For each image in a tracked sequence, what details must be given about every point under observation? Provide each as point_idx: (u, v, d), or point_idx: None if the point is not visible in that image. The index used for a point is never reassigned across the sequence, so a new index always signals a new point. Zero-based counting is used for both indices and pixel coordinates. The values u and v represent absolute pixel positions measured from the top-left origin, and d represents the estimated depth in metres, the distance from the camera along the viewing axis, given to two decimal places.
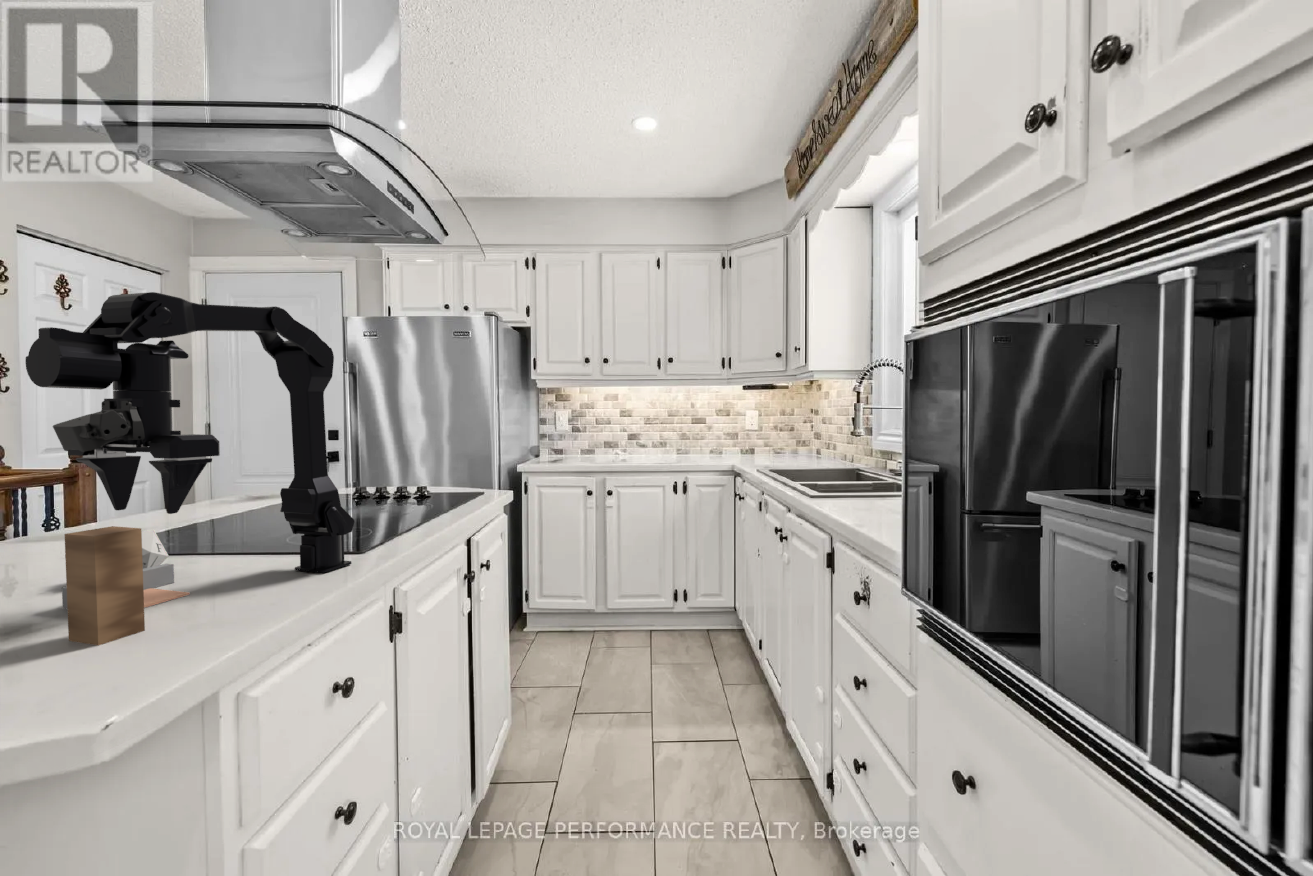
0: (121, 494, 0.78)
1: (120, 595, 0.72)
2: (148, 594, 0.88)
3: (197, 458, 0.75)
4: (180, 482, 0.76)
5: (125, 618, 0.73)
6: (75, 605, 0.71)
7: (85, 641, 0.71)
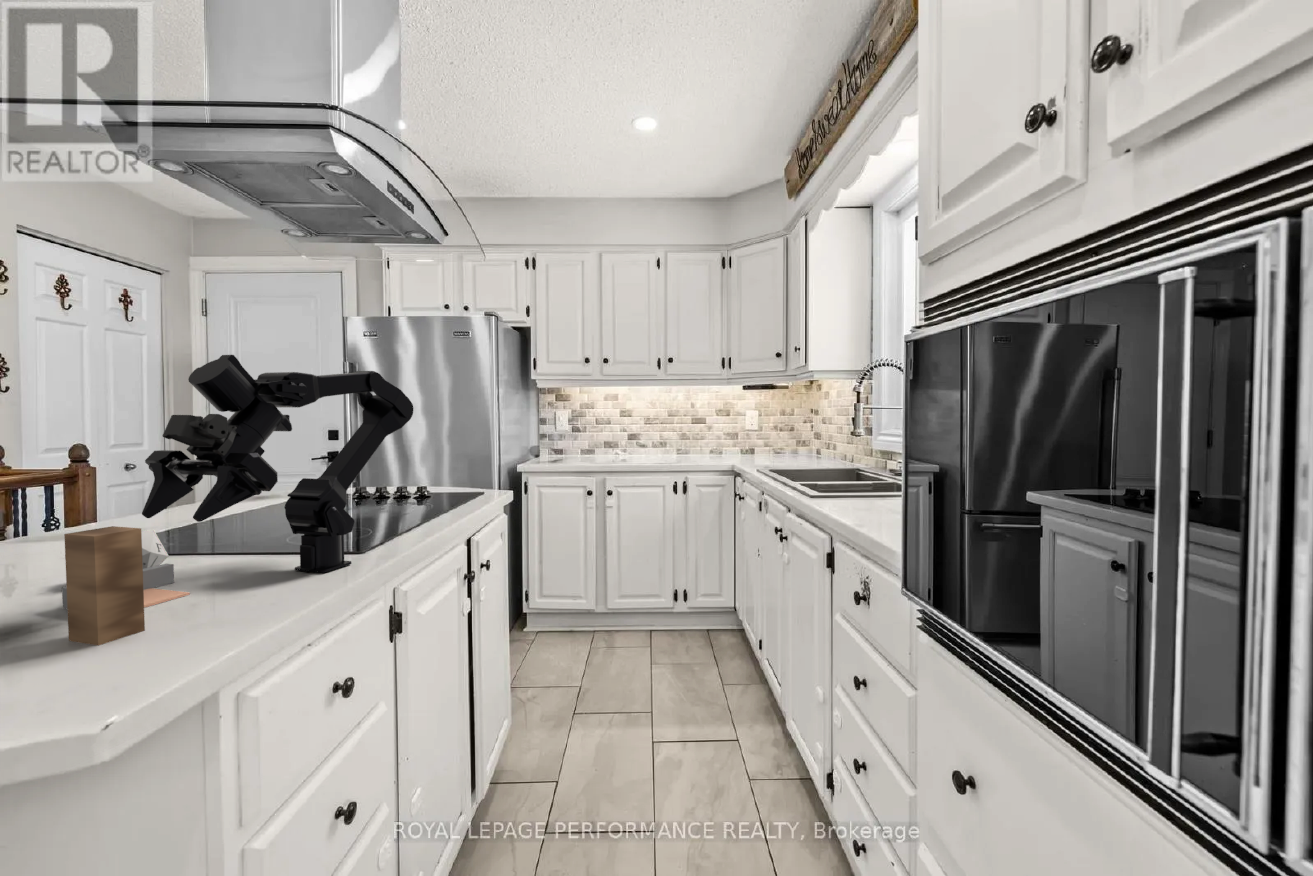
0: (157, 504, 0.82)
1: (120, 595, 0.72)
2: (148, 594, 0.88)
3: (253, 482, 0.83)
4: (224, 497, 0.81)
5: (125, 618, 0.73)
6: (75, 605, 0.71)
7: (85, 641, 0.71)
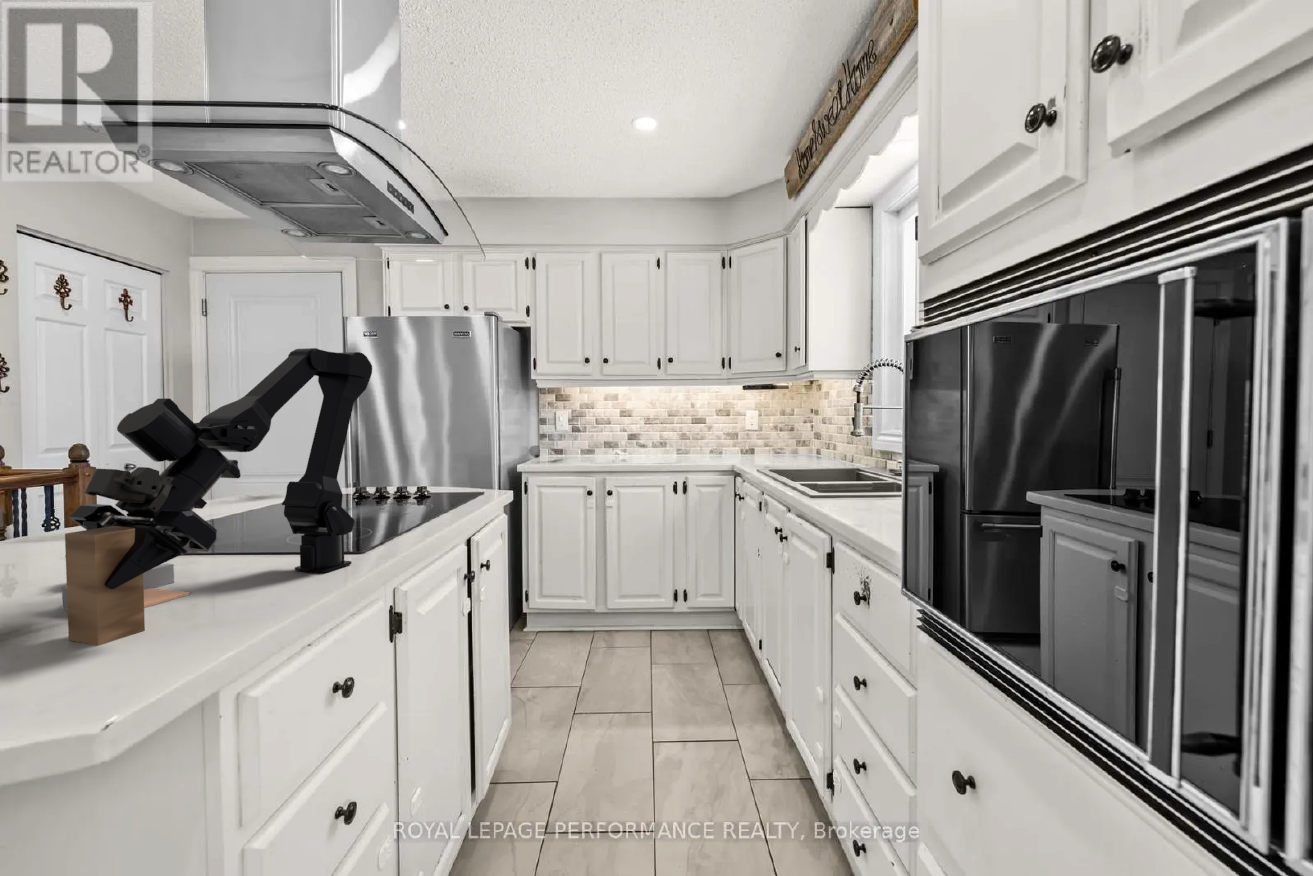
0: None
1: (121, 595, 0.72)
2: (148, 594, 0.88)
3: (177, 542, 0.75)
4: (142, 560, 0.73)
5: (125, 618, 0.73)
6: (75, 604, 0.71)
7: (85, 641, 0.71)
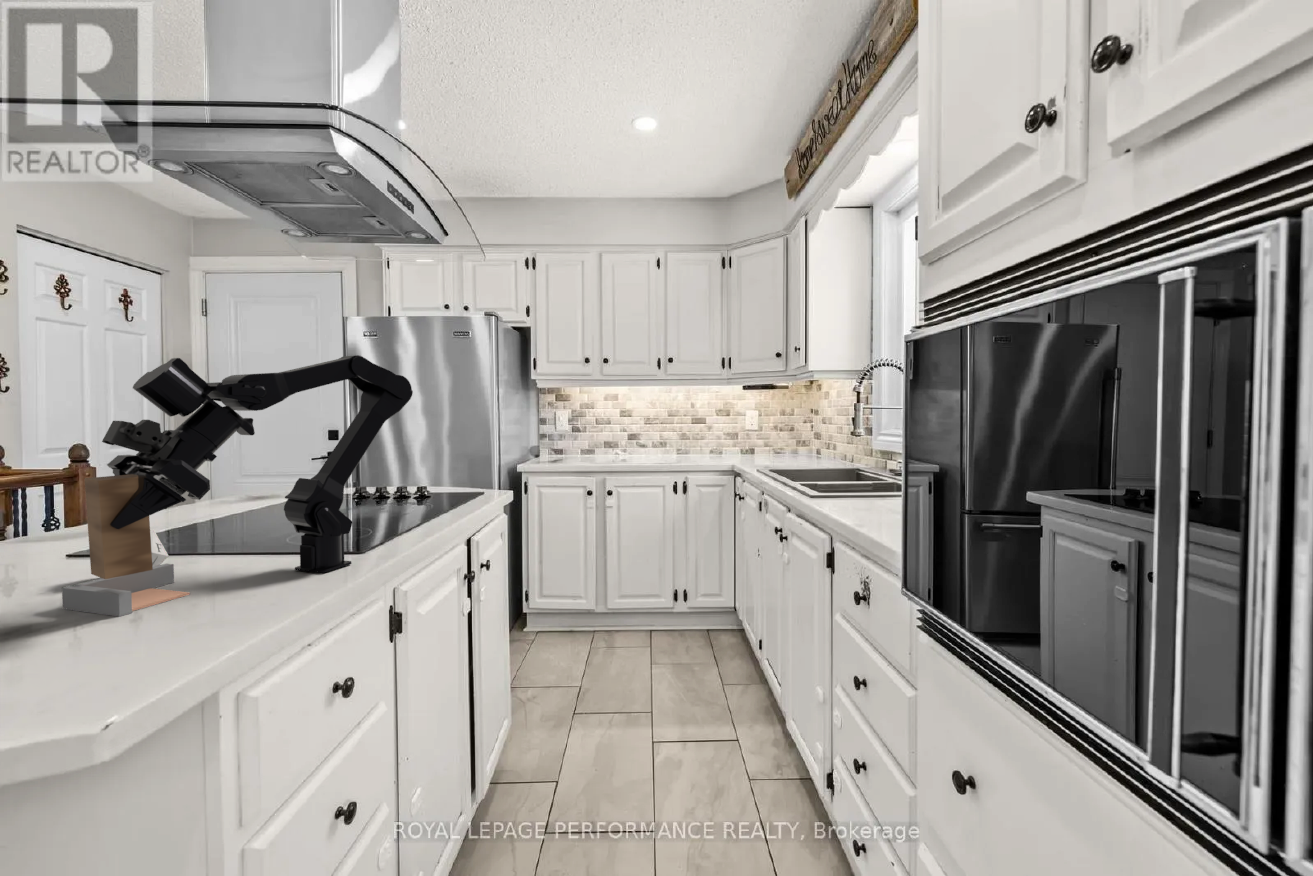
0: None
1: (127, 536, 0.79)
2: (148, 594, 0.88)
3: (174, 490, 0.81)
4: (144, 504, 0.80)
5: (131, 557, 0.80)
6: (92, 542, 0.79)
7: (98, 575, 0.78)
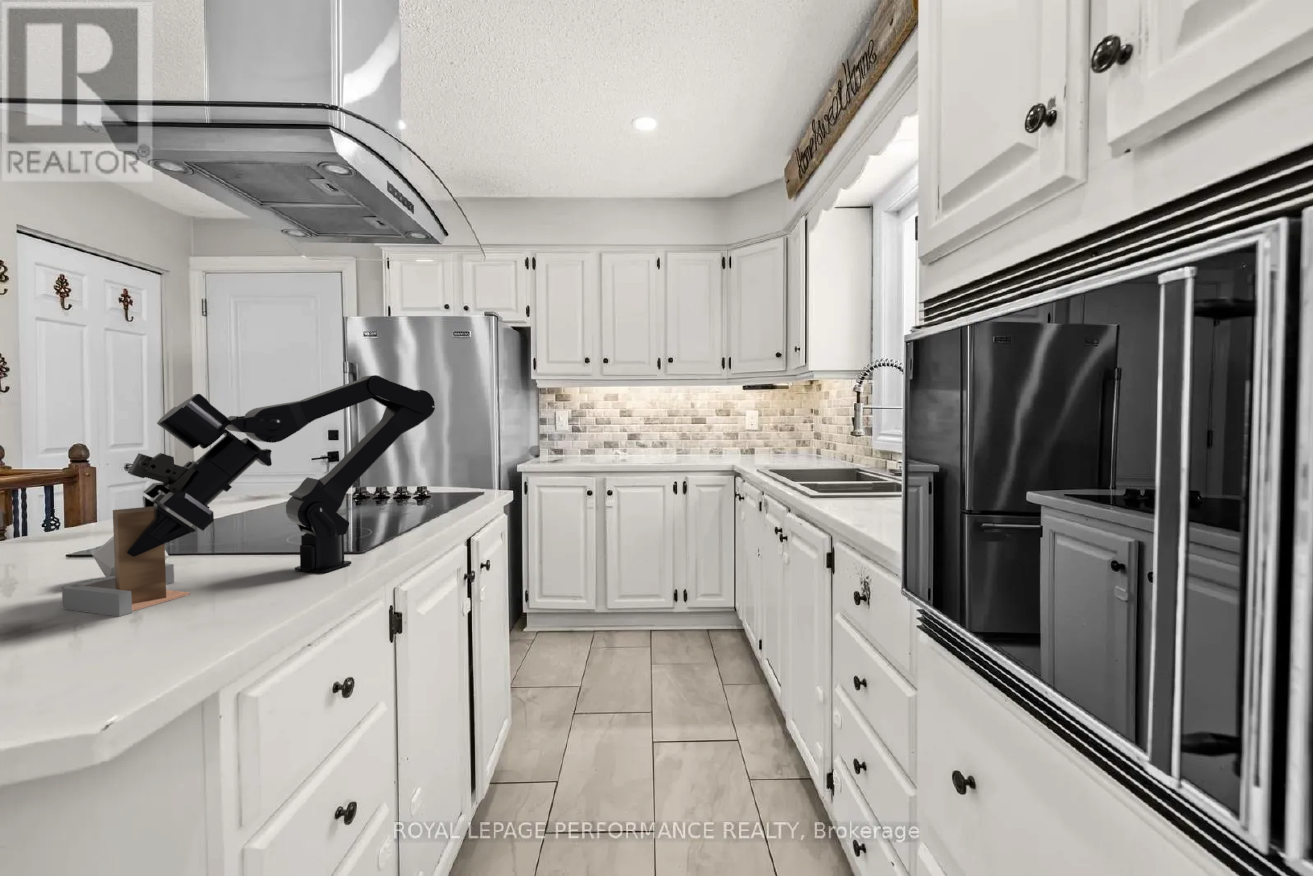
0: None
1: (142, 565, 0.85)
2: None
3: (184, 521, 0.85)
4: (158, 533, 0.84)
5: (146, 585, 0.85)
6: (116, 569, 0.85)
7: None
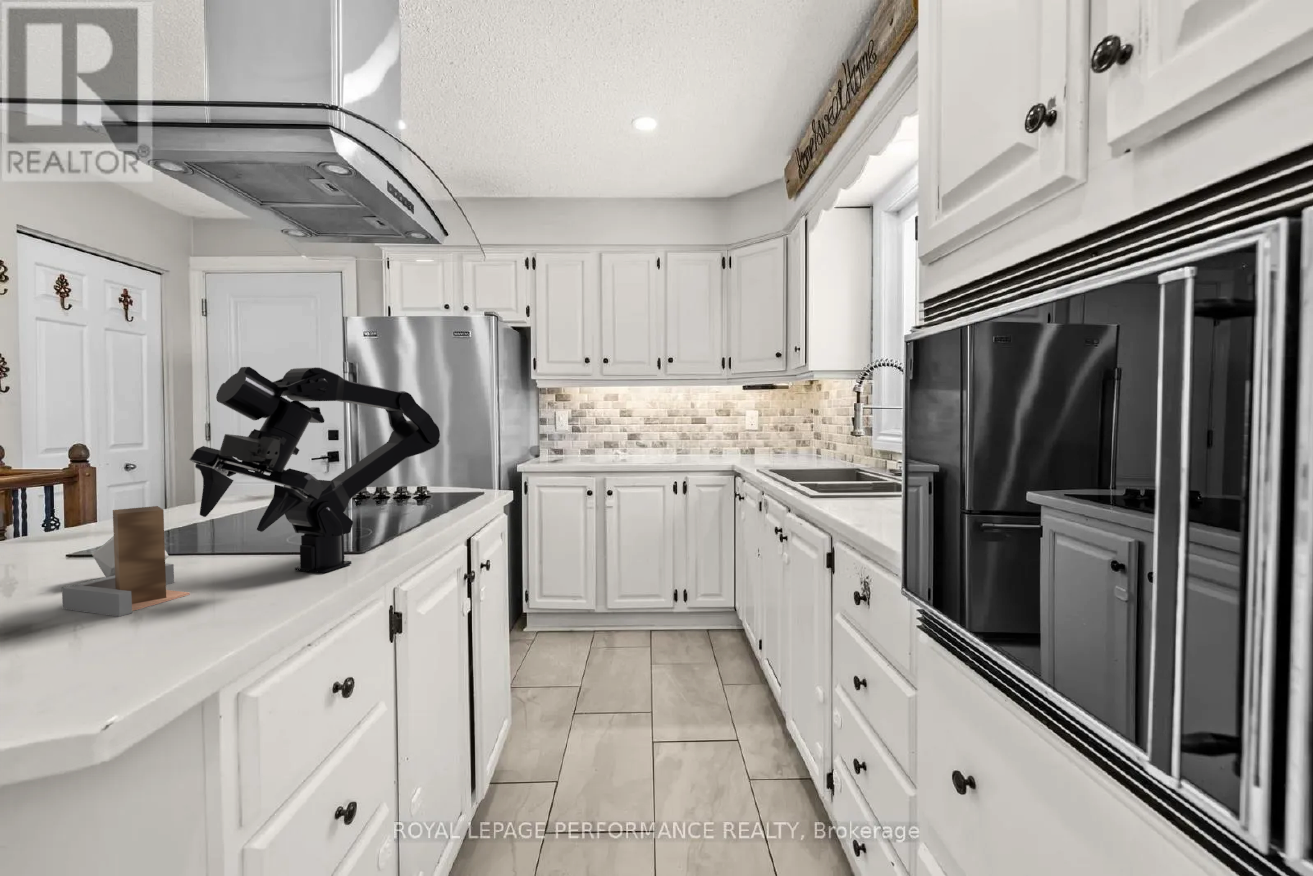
0: (210, 504, 0.92)
1: (142, 565, 0.85)
2: None
3: (304, 495, 0.95)
4: (280, 509, 0.93)
5: (146, 585, 0.85)
6: (116, 569, 0.85)
7: None
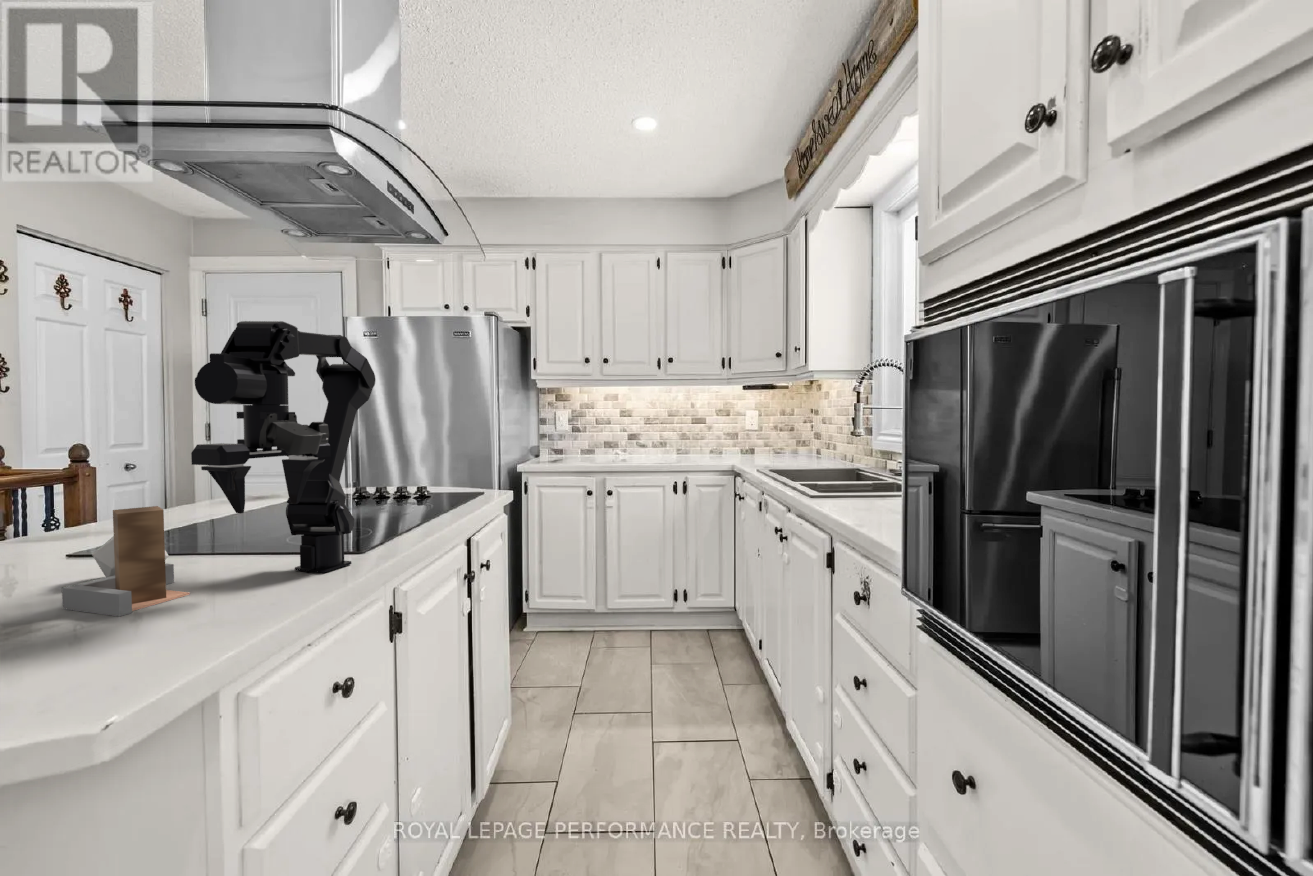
0: None
1: (142, 565, 0.85)
2: None
3: None
4: None
5: (146, 585, 0.85)
6: (116, 569, 0.85)
7: None
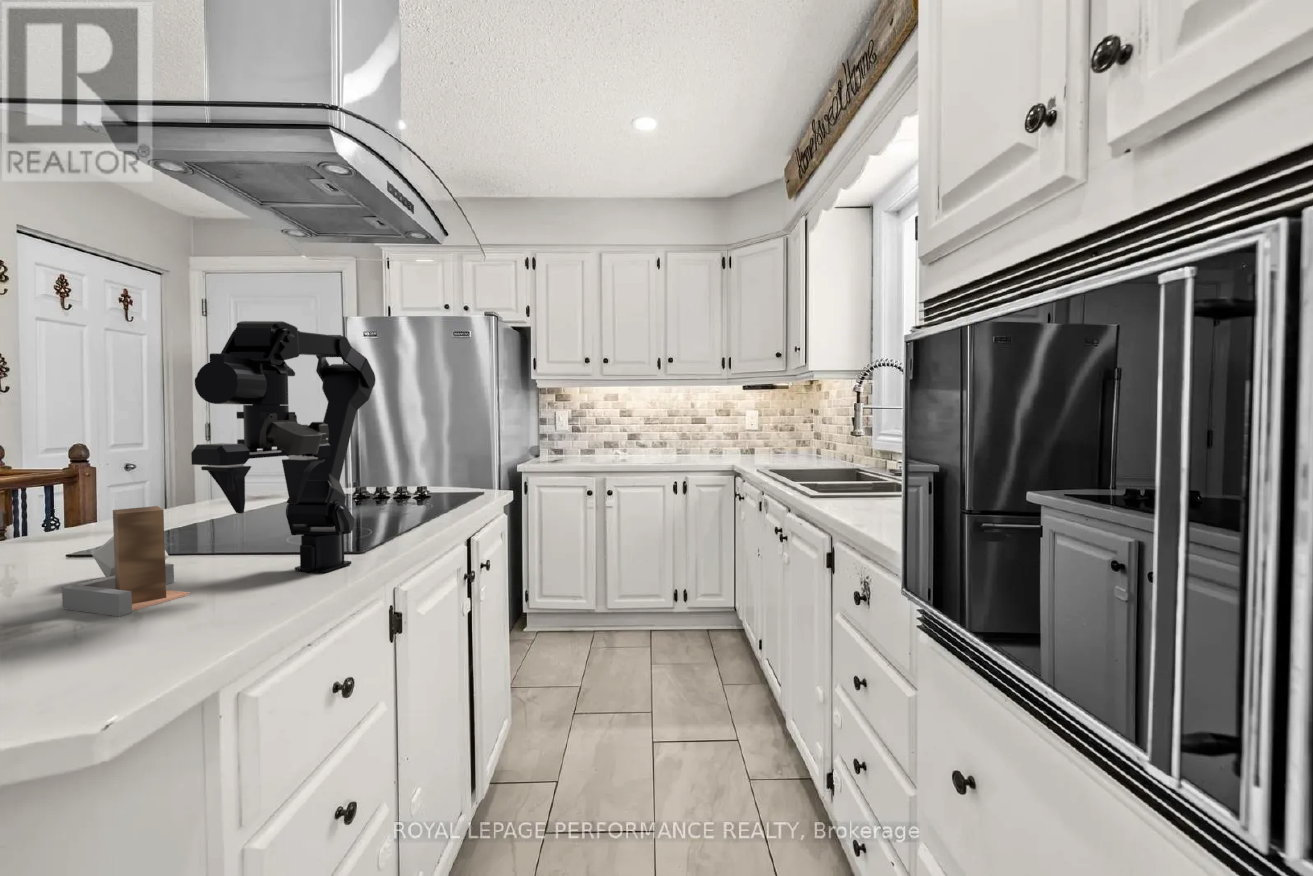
0: None
1: (142, 565, 0.85)
2: None
3: None
4: None
5: (146, 585, 0.85)
6: (116, 569, 0.85)
7: None
